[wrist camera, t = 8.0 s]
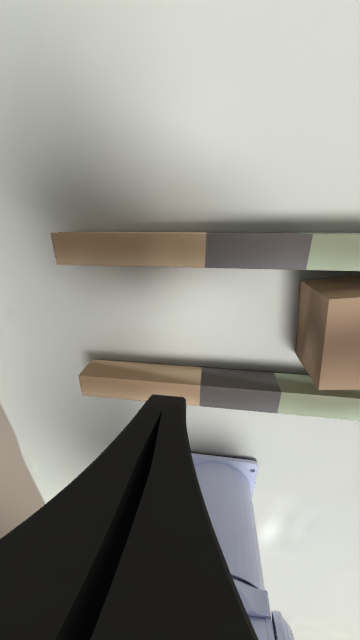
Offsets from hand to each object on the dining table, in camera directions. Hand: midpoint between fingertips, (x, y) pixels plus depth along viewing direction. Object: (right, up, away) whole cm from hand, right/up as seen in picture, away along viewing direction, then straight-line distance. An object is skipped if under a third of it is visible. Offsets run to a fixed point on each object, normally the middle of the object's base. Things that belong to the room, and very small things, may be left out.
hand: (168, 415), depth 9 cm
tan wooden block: (+12, +4, +8) cm, 15 cm away
